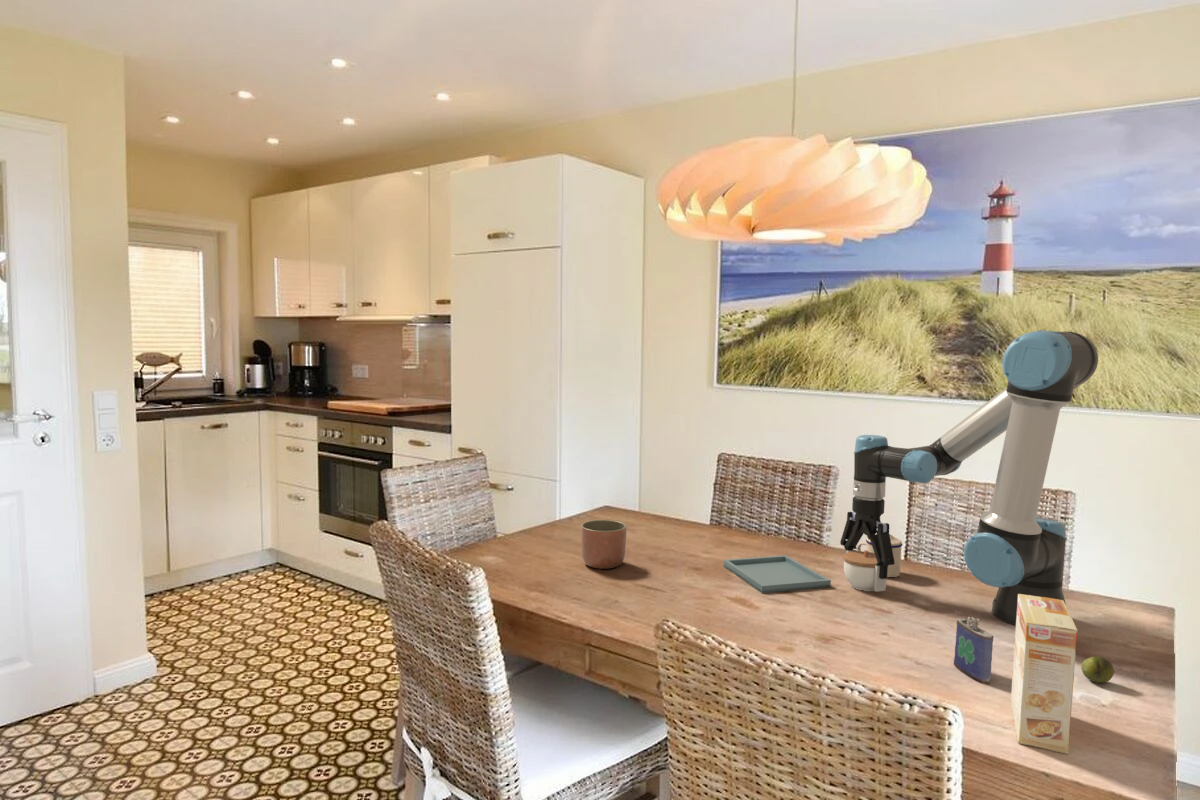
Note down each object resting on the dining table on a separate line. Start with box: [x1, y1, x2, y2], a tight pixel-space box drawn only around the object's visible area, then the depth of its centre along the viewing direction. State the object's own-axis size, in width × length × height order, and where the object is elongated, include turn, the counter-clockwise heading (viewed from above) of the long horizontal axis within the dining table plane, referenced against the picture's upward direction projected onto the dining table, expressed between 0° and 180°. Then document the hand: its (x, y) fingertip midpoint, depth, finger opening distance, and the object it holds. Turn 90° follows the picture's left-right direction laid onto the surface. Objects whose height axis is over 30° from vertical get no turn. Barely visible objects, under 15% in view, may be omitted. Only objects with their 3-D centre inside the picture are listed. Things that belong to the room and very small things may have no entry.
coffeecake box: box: [1010, 594, 1078, 755], centre depth 120 cm, size 15×7×20 cm, turn 155°
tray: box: [722, 554, 831, 594], centre depth 196 cm, size 22×19×2 cm
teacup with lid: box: [856, 533, 903, 578], centre depth 200 cm, size 12×9×12 cm
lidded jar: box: [842, 549, 888, 592], centre depth 188 cm, size 11×11×9 cm
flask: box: [953, 616, 994, 685], centre depth 140 cm, size 9×3×11 cm, turn 8°
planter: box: [580, 519, 627, 570], centre depth 204 cm, size 12×12×11 cm
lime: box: [1080, 656, 1115, 684], centre depth 137 cm, size 4×5×5 cm
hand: (864, 582), depth 188 cm, fingers open, 11 cm apart
